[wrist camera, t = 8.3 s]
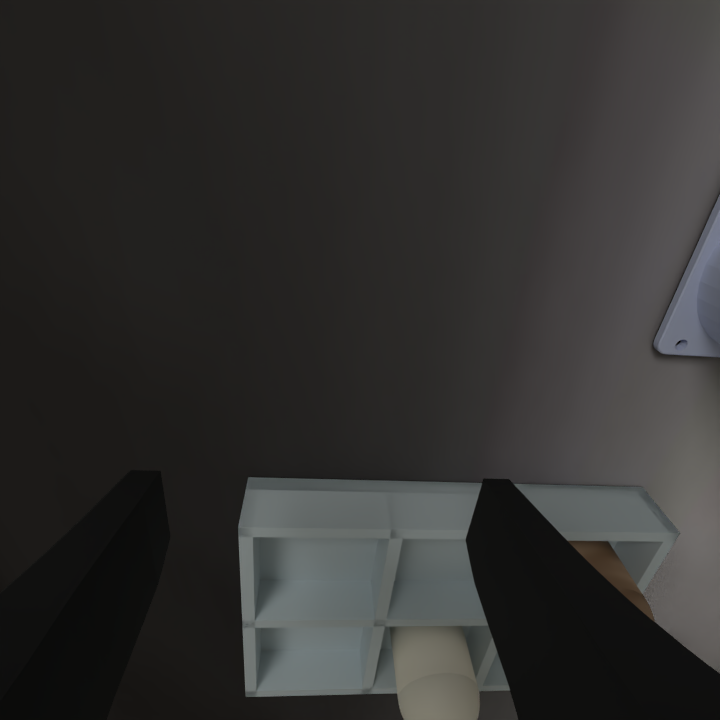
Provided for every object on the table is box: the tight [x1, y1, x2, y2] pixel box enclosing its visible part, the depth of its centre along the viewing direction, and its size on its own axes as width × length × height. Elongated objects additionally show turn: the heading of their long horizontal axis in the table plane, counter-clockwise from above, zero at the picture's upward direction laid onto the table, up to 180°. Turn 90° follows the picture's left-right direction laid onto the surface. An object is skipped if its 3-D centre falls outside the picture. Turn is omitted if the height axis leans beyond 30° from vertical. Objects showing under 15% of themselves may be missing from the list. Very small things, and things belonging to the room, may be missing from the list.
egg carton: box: [238, 477, 680, 697], centre depth 25 cm, size 20×14×3 cm
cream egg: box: [390, 626, 480, 720], centre depth 25 cm, size 4×4×6 cm
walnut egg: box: [568, 541, 654, 621], centre depth 22 cm, size 4×4×6 cm
